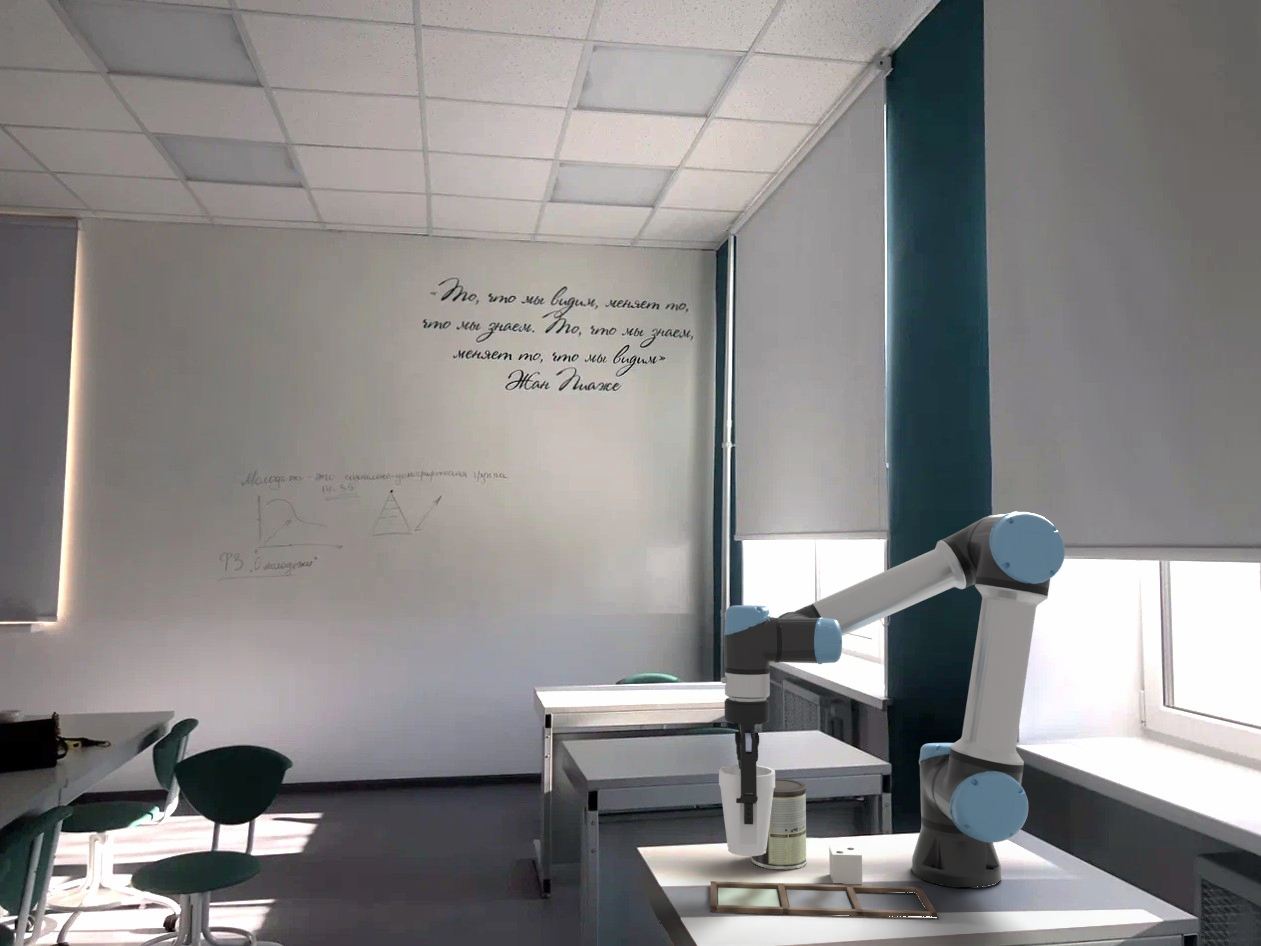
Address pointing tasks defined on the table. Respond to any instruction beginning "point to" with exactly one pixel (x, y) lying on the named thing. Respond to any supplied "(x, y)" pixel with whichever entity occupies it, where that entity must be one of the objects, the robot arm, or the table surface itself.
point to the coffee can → (786, 827)
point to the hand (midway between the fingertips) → (747, 834)
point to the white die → (845, 864)
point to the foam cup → (731, 809)
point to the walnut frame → (805, 899)
